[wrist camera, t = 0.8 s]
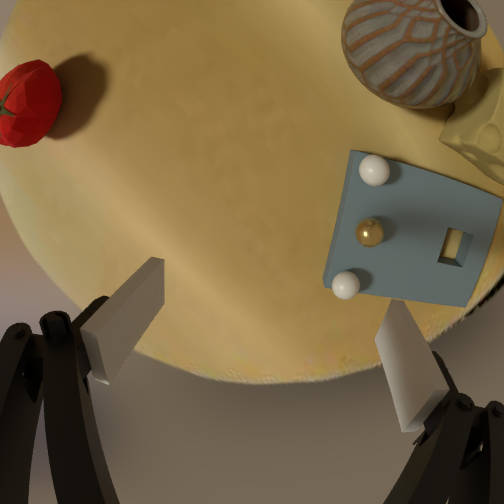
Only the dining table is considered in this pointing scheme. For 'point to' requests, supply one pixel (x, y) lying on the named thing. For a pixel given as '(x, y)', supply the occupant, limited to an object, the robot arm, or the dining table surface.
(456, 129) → the cheese
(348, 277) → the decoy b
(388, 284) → the plate
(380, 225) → the ball
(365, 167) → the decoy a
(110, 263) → the dining table surface
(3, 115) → the tomato
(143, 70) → the dining table surface
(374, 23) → the vase
